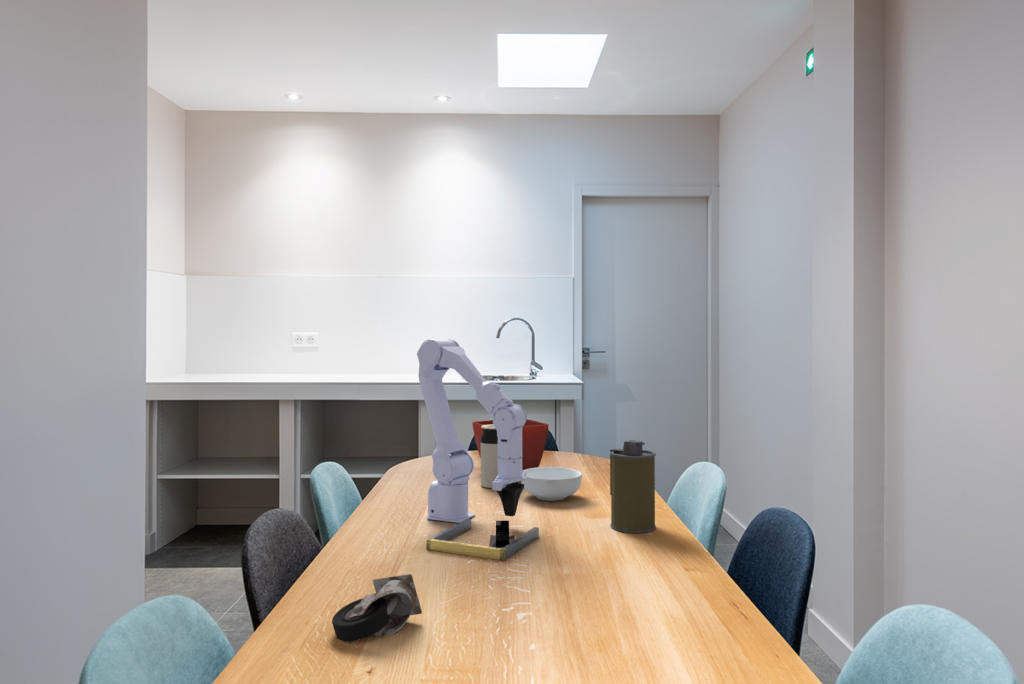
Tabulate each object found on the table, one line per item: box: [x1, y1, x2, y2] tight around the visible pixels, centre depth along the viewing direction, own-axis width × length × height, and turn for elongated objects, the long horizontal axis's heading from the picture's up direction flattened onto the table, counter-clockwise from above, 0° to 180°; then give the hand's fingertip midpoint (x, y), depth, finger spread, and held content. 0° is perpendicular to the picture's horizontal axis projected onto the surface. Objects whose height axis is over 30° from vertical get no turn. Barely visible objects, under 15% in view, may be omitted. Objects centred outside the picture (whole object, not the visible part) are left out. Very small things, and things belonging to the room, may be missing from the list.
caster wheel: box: [331, 573, 423, 643], centre depth 102 cm, size 7×11×10 cm
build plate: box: [488, 520, 516, 548], centre depth 147 cm, size 12×7×5 cm, turn 0°
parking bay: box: [425, 518, 540, 562], centre depth 146 cm, size 18×18×2 cm
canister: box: [609, 439, 657, 534], centre depth 158 cm, size 11×10×20 cm
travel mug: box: [480, 424, 498, 489], centre depth 203 cm, size 8×8×18 cm
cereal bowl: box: [520, 466, 583, 502], centre depth 188 cm, size 17×17×7 cm
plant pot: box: [471, 419, 549, 471], centre depth 220 cm, size 19×19×17 cm
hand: (510, 515), depth 158 cm, fingers closed
